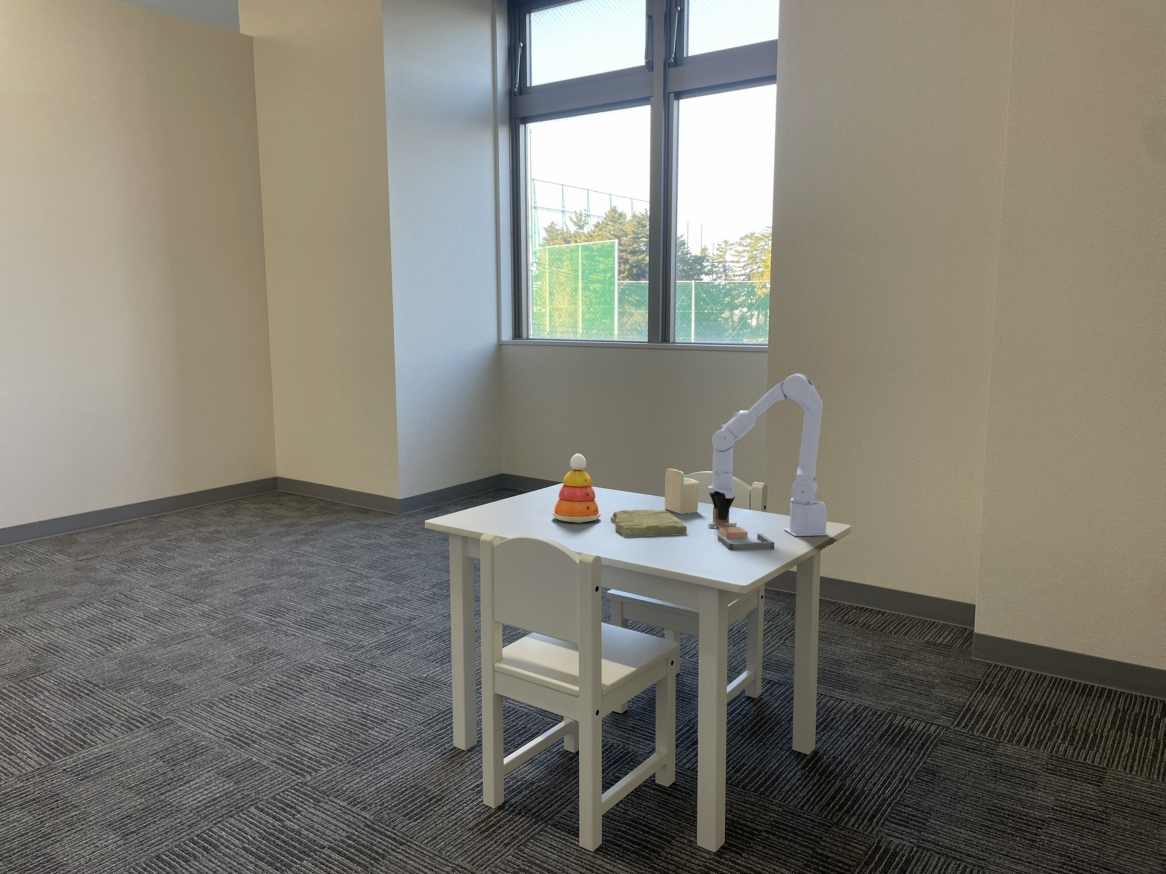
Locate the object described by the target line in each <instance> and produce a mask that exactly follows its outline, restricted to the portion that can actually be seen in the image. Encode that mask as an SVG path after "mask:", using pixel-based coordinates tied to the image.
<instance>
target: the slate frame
mask: <svg viewBox="0 0 1166 874" xmlns="http://www.w3.org/2000/svg"><path fill="white" fill-rule="evenodd" d="M756 540H757V542H755V541H753V542H731V540H729V538H725V537H724V536H723V535H721V534H717V542H719V543H720V542H721V543H722V544H721V543H720V544H721V545H723V546H724V547H725V546H726V547H727V548H726V547H725V548H726V549H728V550H729V551H736V550H737V551H740V550H771V549H772V550H773V549H775V542H774V541H773V540H771V539H770V538H768V537H767V536H765V535H764V534H762V533H757V534H756ZM760 541H761V542H760Z"/></svg>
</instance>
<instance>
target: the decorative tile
mask: <svg viewBox="0 0 1166 874" xmlns="http://www.w3.org/2000/svg"><path fill="white" fill-rule="evenodd" d="M610 522H611V523H612V522H613V524H614V525H615V530H616V531H617V532H618V534H620V535H621V534H622V535H621V536H622V537H623V536H632V537H647V536H646V535H659V536H673V535H672V534H685V535H687V531H688V527H687V525H686V524H685V523H683V521H682V520H680V519H679V518H677V517H676V516H675V515H673V514H671V513H670V512H668V510H666V509H664V510H656V509H655V510H654V509H633V510H628V509H625V510H618V511H613V514H612V516H611V517H610Z"/></svg>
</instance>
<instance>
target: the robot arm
mask: <svg viewBox="0 0 1166 874" xmlns="http://www.w3.org/2000/svg"><path fill="white" fill-rule="evenodd" d="M787 398H790V400H793V401H795V402H796V403H797V404H798V405H799V406H800V407H801V408H802V410H804V414H803V423H802V430H801V431H802V432H801V440H800V448H799V456H798V458H799V459H798V466H797V471H796V476H795V481H794V483H793V484H792V486H791V488H790V494H791V498H790V508H789V511H790V512H789V527H784V528H783V530H784V531H786V532H787V533H789V534H791V535H792V536H794V537H808V536H809V537H811V536H828V533H827V518H828V516H827V515H828V514H827V513H828V511H827V506H826V503H825V502H824V501H821V500H819V501H818V499H817V498H816V493H817V491H818V488H819V487H818V486H819V485H818V481H817V480H816V474H817V469H816V467H817V457H818V449H819V442H820V435H821V425H822V417H823V416H822V415H823V409H824V408H823V407H824V405H823V404H824V403H823V400H822V399H821V397H820V395H819V393H818V390H817V389H816V388H815V385H814V382H813V381H812V380H811V379H810V378H808V377H807V376H806V375H805V374H802V373H794V374H792V375H789V376H787V377H786V378H785V379H784V380H782V381H781V382H779V383H777V384H776V385H774V386H773V387H771V389H769V390H768V391H767V392H766V393H765V394H764V395H763V396H761V398H759V400H757V402H756V403H755V404H753V405H752V406H751V407H750V408H749V409H748V410H739V412H738V411H736V412H734V413H733V414H732V415H733V417H732V418H731V419H729V421H728V422H727V423H723V424H722V425H721V426H720V427H721V429H719V430H716V431H715V432H714V434H713V436H712V437H711V444H712V446H713V450H712V451H713V454H712V472H711V473H712V475H711V477H712V478H711V479H712V480H711V481H712V482H711V484H710V485H709V486H707V489H708V490H710V492H709V496H710V498H711V502H712V505H713V508H718V517H719V520H727V517H728V513H729V514H730V509H731V506H732V504H733V502H734V500H735V496H734V492H735V491H734V487H733V481H734V480H733V479H734V478H733V476H734V474H733V473H734V469H733V468H734V455H733V454H734V447H733V446H734V445H736V441H739V440H740V439H741V438H743V437H744V436H745V435H746V434H747V433H748V432H750V430H751V429H753V428H754V427H755V426H756V419H757V418H758V417H760V416H761V414H763V413H764V412H765V411H767V410H768V409H769V408H770V407H771V406H773V404H775V403H777V402H778V401H782V400H785V399H787ZM711 491H713V492H711Z"/></svg>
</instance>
